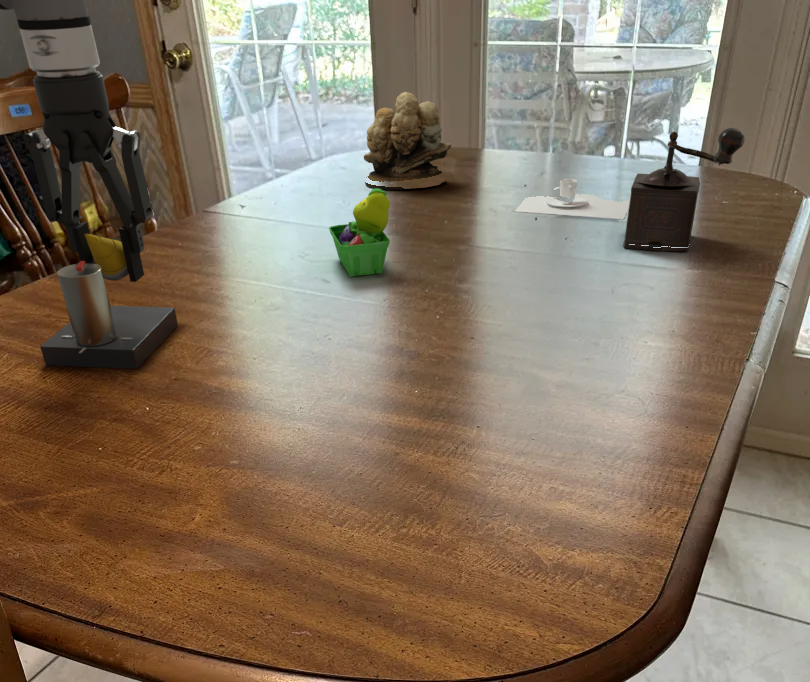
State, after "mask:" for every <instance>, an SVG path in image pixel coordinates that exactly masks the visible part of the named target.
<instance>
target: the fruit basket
mask: <svg viewBox="0 0 810 682" xmlns="http://www.w3.org/2000/svg"><path fill="white" fill-rule="evenodd" d="M390 207H391V203H390V199H389V198H388V196H387V192H386V191H385V190H383V189H376V188H372V189H371V190H370V191H369V193H368V195H367V197H366V198H364V199H362V200H361V201H360V202H358V203H356V204H355V206H354V208H353V210H352V216H353V217H354V220H355V221H348V224H337V225H336V224H335V225H331V226H329V227H328V230H329V232H330V235H331V237H332V240H333V243H334V247H335V250H336V253H337V258H338V259H339V261H340V262H341V264H342V266H343V267H344V269H345V271H346V272H347V274H348V276H349V277H356V276H369V275H374V274H377V275H378V274H382V273H383V270H384V267H385V261H386V256H387V252H388V248H389V246H390V242H391V240H390V239H389V237H388V236H387V235H386V234H385V232H384V231H385V230H386V228H387V226H388V223H389V210H390Z"/></svg>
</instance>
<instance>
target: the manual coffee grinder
mask: <svg viewBox="0 0 810 682" xmlns="http://www.w3.org/2000/svg"><path fill="white" fill-rule="evenodd" d="M678 137H679V134H678V132H677V131H672V132H671V133H670V134H669V141H668V143H667V145H666V146H667V147H668V151H667V158H666V161H665V162H666V163H665V165H664V167H662V168H658V169H656V170H653V171H652V172H650V173H636V175H635V178H634V180H633V183H632V184H631V186H630V187H631V188H630V191H631V194H630V202H629V209H628V211H627V218H626V227H625V234H624V240H623V243H622V247H623V248H624V249H628V250H629V249H630V250H642V251H653V252H654V251H656V252H661V251H665V252H688V251H689V249H690V247H691V243H692V232H693V227H694V221H695V215H696V208H697V202H698V195H699V192H700V186H701V182H700V177H699V176H690V175H687V174H686V173H684V172H683V171H682V170H679V169H677V168H674V165H673V160H674V157H675V156H674V155H675V150H676V151H678V152H679V153H681V154H685V155H689V156H692V157H693V156H694V157H697V158H701V159H703V160H707V161H710V162H712V163H714V164H718V166H721V165H729V164H731V163H732V162H733V160H732V159H733V155H734V154H735V153H736V152H737V151H738V150H739V149H741V148H742V147H743V146H744V144H745V135H744V134H743V133H742V131H741V130H739V129H737V128H734V127H727V128H725V129H722V131H721V132H720V133H719V135H718V138H717V142H718V150H717V152H716V153H715V154H714V155H713V154H710V153H708V152H705V151H702V150H698V149H693V148H689V147H684V146H681V145H678V142H677V140H678ZM690 239H691V241H690ZM629 244H635V245H629ZM689 244H690V245H689ZM641 245H649V246H641ZM661 246H668V247H661ZM669 246H670V247H669ZM688 246H689V248H671V247H688ZM653 247H661V248H653Z"/></svg>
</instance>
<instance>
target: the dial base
mask: <svg viewBox="0 0 810 682" xmlns="http://www.w3.org/2000/svg"><path fill="white" fill-rule="evenodd" d="M110 306H111V310H112V314H113V318H114V323H115V327H116V331H117V338H116V339H115V340H113V341H111V342H109V343H106V344H103V345H98V346H83V345H79V344H78V343H76V340H75V337H74V333H73V329H72V326H71V322H70V321H69V322H68V323H67V324H66V325H64V326H63V327H62V328H61V329H60V330H58V331H57V332H56V333H55V334H54V335H53V336H51V337H50V338H49V339H48V340H47V341H45V342H44V343H43V344H42V345H41V346H40V350H41V354H42V357H43V361H44V364H45V366H51V367H52V366H53V367H75V368H76V367H78V368H101V369H102V368H103V369H126V370H138V369H139V368H140V367H141V366H142V365H143V364H144V363H145V362H146V361H147V359H149V357H150V356H151V355H152V354H153V353H154V352H155V351H156V350H157V349H158V347H159V346H161V344H162V343H163V342H164V341H165V340H166V339H167V338H168V337H169V335H171V333H173V332H174V331H175V329H176V328H177V327H178V324H179V323H178V317H177V314H176V308H175V307H172V306H171V307H169V306H168V307H167V306H135V305H134V306H133V305H110Z"/></svg>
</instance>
